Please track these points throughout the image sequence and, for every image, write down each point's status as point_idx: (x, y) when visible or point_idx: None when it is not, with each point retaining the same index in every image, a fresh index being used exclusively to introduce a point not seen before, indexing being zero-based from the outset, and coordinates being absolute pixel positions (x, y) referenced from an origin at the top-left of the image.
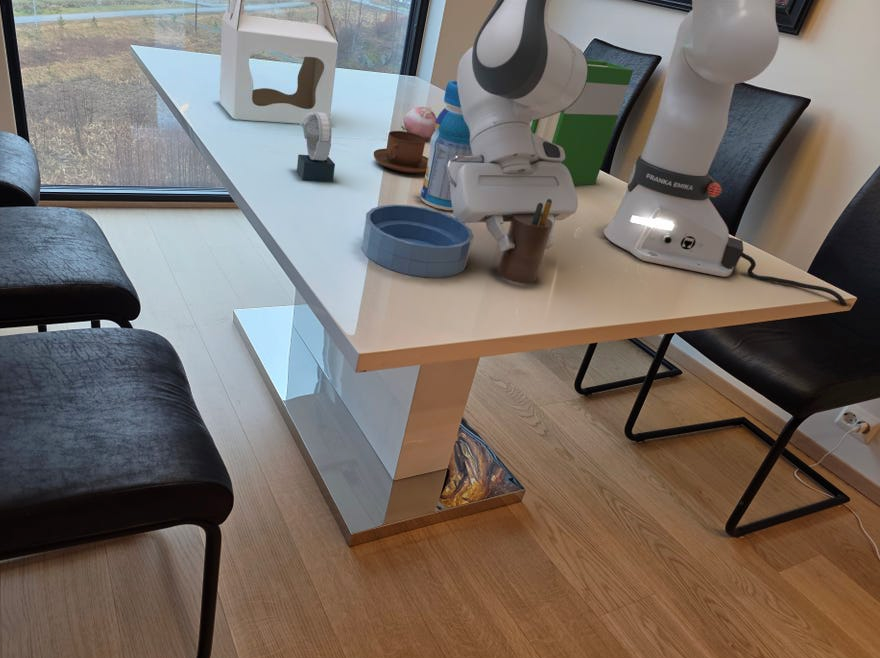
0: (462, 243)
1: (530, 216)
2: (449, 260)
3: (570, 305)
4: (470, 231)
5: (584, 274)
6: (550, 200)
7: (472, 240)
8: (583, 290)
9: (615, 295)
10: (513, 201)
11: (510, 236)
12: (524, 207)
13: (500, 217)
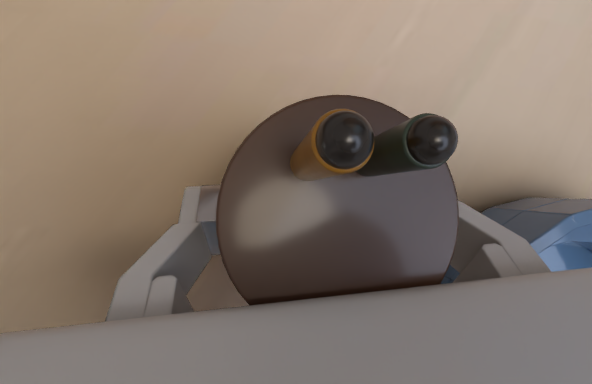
0: (559, 233)
1: (334, 261)
2: (561, 201)
3: (227, 35)
4: None
5: (27, 210)
6: (351, 118)
7: None
8: (115, 110)
9: (15, 66)
10: (486, 358)
11: None
12: (380, 319)
13: (511, 270)
